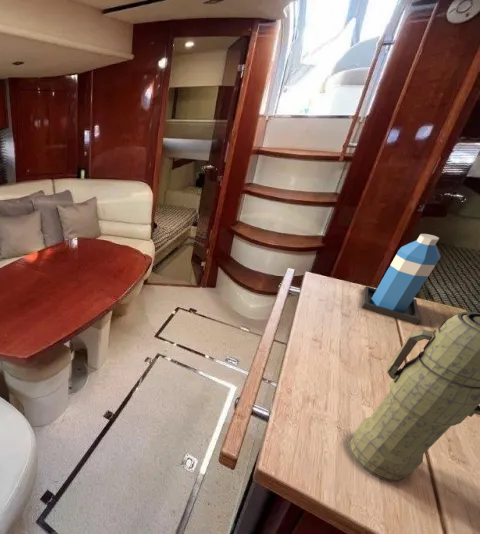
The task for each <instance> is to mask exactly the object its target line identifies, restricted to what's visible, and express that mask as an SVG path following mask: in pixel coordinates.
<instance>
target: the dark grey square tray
mask: <svg viewBox="0 0 480 534" xmlns="http://www.w3.org/2000/svg"><path fill="white" fill-rule="evenodd" d="M365 286H366V287H365ZM365 286H364V288H363V290H362V297H361V298H362V300H361V309H363V310H367V311H369V312H373V313H376V314H380V315H384V316H387V317H390V318H393V319H397V320H401V321H403V322H406V323H410V324H414V325H417V324H418V322H419V321H420V320H421V318H420V313H419V307H418V301H417V299H416V298H414V299H413V301H412V302H411V304H410V305H409V307H408V308H407V310H406V311H405V313H401V312H397V311H394V310H390V309H387V308H383V307H380V306H377V305H375V304H373V303H372V302H371V301H370V300H371V299H372V297H373V295H374V293H375V291H376V290H377V288H375V287H372V286H367V285H365ZM374 288H375V289H374Z"/></svg>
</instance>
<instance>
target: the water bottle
mask: <svg viewBox="0 0 480 534" xmlns="http://www.w3.org/2000/svg"><path fill="white" fill-rule="evenodd" d="M439 240H440V237H438V236H436V235H433V234H428V233H420V234H419V236H418V238H417V239H416V240H414V241H411V242H409V243H407V244H405V245H403V246H401V247H400V248H399V249H398V250H397V253H396V254H395V256H394V258H393V260H392V261H391V263H390V265H389V267H388V269H387V270H386V272H385V273H384V276H383V277H382V279H381V281H380V283H379V284H378V286H377V288H376V289H377V290H376V291H375V293H374V295H373V297H372V299H371V300H370V301H371V302H372V303H373V304H375V305H377V306H380V307H383V308H387V309H390V310H394V311H397V312H401V313H405V311H406V310H407V308H408V307H409V305H410V304H411V302H412V301H413V299H415V298H416V296H417V294H418V293H419V292H420V290H421V288H422V287H423V285H424V284H425V282H426V280H427V279H428V277H429V276H430V275H431V273H432V272H433V270H434V268H435V267H436V266H437V264H438V262H439V260H440V259H441V257H442V256H441V254H440V251H439V249H438V247H437V243H438V241H439Z"/></svg>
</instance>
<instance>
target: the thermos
mask: <svg viewBox="0 0 480 534" xmlns="http://www.w3.org/2000/svg"><path fill="white" fill-rule="evenodd" d="M422 340H427V343H426V344H425V346H424V347H423V348H422V349H423V351H420V352H419V353H418V355H417V356H416V357H414V358H412V359H410V360H408V361H406V362H405V360H406V359H407V358H408V356H409V354H410V353H411V352H412V350H413V349H414V348H415V347H416V345H417V343H418V342H420V341H422ZM404 362H405V364H403V363H404ZM402 365H403V366H402ZM401 366H402V367H401ZM386 373H387V374H388V376H389V377H390V378H391V379H392V381H391V383H390V384H389V392H388V393H387V394H386V396H385V397H384V398H383V400H381V402H380V404H379V405H378V406H377V408H376V409H375V410H374V412H373V413H372V414H371V416H368V417H367V418H364V419H363V420H362V421H361V423H360V424H359V426H357V428H356V429H355V430H354V432H353V434H352V437H350V440H349V441H348V445H347V446H348V450H349V454H350V455H351V456H352V458H353V459H354V461H355V462H356V463H357V464H358V465H359V466H360V467H361V468H362V469H364V470H365V471H367V472H368V473H369V474H371V475H372V476H374V477H376V478H378V479H379V480H383V481H385V482H390V483H399V482H401V481H403V480H404V479H405V478H406V476H409V475H411V474H412V473H414V471H416V469H418V467H419V466H420V465H421V464H422V463H423V461H424V454H425V453H427V452H428V450H429V449H430V448H431V447H433V445H434V444H435V443H436V442H437V441H438V440H440V438H441V437H442V436H443V435H444V434H445V433H446V432H447V431H448V430H449V429H450V428H451V427H452V426H454V427H455V426H457V425H460V424H461V423H462V422H463V421H464V420H465V419H466V418H468V417H470V418H472V417H473V416H474V415H478V416H480V312H472V311H462V312H458V313H456V314H454V315H453V316H452V317H450V318H448V319H446V320H445V321H442V323H441V324H440V325H439V327H438V328H437V329H434V331H433V330H429V329H427V330H426V329H420V330H417V331H413V332H411V333H410V334H409V335H408V337H407V339H406V340H405V341H404V343H403V344H402V346H401V347H400V348H399V350H398V351H397V353H396V354H395V355H394V357H393V359H392V360H391V361H390V362H389V364H388V365H387V367H386Z"/></svg>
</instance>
